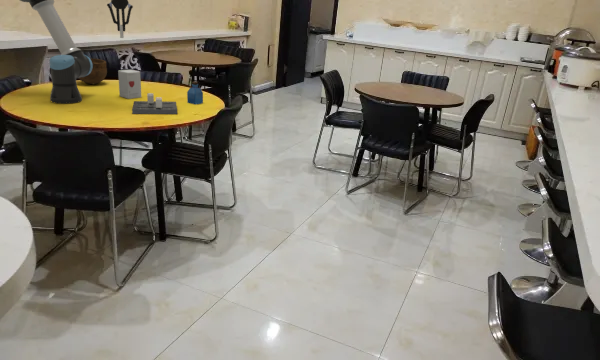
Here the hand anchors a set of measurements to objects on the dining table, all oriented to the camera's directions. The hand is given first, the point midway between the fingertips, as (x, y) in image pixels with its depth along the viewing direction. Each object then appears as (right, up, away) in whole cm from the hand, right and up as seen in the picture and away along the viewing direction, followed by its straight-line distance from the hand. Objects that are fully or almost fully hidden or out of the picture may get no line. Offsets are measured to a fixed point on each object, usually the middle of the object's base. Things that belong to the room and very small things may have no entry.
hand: (121, 37), depth 245 cm
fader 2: (+22, -38, -6) cm, 45 cm away
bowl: (-38, -15, +49) cm, 64 cm away
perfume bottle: (+34, -32, +21) cm, 51 cm away
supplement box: (-4, -28, +23) cm, 36 cm away
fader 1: (+15, -35, +1) cm, 38 cm away
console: (+18, -39, -2) cm, 43 cm away
